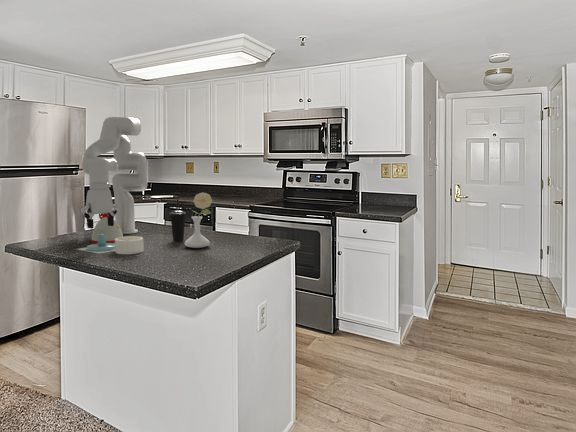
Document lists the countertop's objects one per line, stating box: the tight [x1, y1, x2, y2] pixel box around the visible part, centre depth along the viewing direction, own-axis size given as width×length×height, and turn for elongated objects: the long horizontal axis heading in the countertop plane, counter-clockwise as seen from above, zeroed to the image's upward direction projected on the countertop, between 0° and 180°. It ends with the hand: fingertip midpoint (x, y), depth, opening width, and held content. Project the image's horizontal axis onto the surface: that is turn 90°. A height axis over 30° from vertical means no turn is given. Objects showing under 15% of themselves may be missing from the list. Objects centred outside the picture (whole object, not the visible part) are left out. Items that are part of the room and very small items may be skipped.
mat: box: [76, 246, 115, 255], centre depth 183 cm, size 15×14×1 cm
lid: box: [86, 234, 115, 251], centre depth 183 cm, size 12×12×6 cm
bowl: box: [114, 235, 145, 256], centre depth 178 cm, size 11×11×6 cm
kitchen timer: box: [91, 213, 124, 244], centre depth 201 cm, size 14×14×15 cm
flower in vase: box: [184, 191, 213, 249], centre depth 190 cm, size 13×11×25 cm
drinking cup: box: [169, 199, 187, 242], centre depth 205 cm, size 8×8×20 cm
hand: (100, 227), depth 182 cm, fingers open, 9 cm apart
